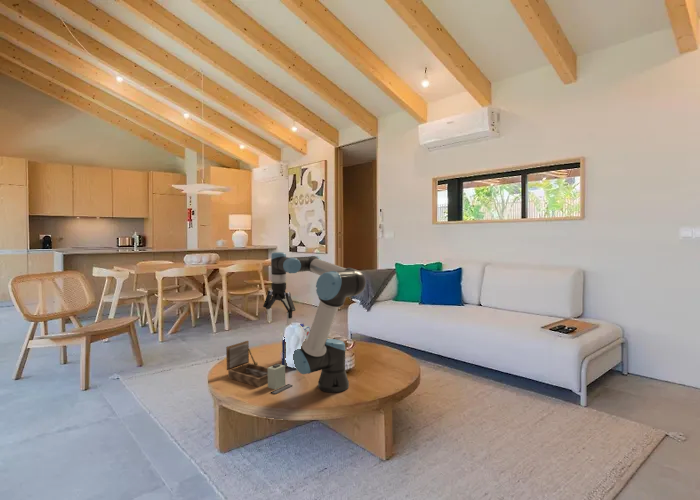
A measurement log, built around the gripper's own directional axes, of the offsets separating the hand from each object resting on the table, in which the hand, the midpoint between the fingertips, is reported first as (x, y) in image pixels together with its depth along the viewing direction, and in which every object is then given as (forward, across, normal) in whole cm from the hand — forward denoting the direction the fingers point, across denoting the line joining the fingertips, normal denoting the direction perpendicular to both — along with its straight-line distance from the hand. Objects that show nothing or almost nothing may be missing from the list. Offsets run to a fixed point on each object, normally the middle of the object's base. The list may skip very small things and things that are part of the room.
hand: (279, 322), depth 217 cm
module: (+28, -10, +12) cm, 32 cm away
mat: (+28, -9, +12) cm, 32 cm away
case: (+29, +8, +11) cm, 32 cm away
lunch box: (+29, +6, -21) cm, 36 cm away
